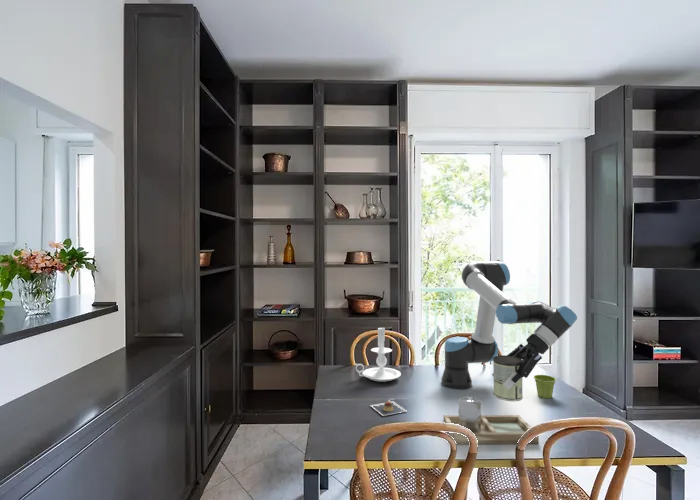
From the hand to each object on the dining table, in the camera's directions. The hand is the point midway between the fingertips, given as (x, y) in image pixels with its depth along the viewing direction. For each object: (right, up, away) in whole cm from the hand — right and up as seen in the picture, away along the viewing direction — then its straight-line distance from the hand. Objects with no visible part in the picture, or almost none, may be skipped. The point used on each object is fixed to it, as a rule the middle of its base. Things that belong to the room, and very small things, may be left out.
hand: (499, 382), depth 146 cm
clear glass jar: (-11, -18, 0) cm, 21 cm away
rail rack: (-4, -19, 0) cm, 20 cm away
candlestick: (-41, -20, +62) cm, 77 cm away
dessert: (-40, -20, +23) cm, 50 cm away
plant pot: (+36, -20, +37) cm, 55 cm away
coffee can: (+3, -6, 0) cm, 6 cm away
